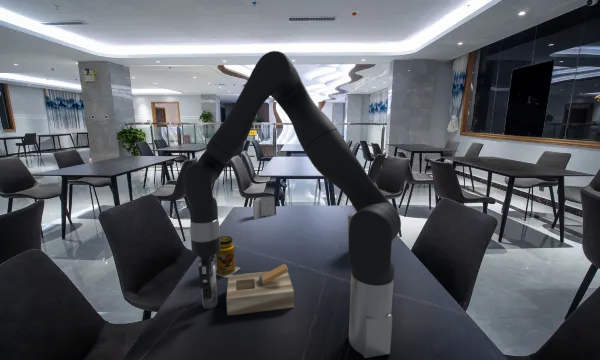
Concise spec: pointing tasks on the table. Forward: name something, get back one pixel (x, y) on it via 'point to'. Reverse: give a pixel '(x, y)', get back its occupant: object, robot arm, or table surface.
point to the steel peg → (213, 301)
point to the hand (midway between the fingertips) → (209, 289)
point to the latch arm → (273, 274)
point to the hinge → (264, 206)
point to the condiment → (226, 258)
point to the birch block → (258, 293)
